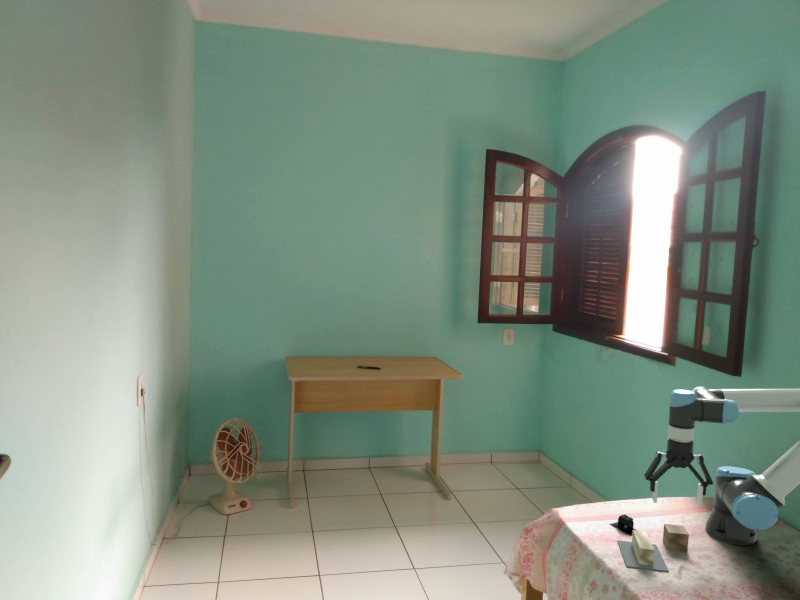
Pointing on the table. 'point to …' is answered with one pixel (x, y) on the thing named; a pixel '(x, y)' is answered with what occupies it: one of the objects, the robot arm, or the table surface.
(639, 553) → the plinth
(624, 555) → the mat
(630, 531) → the black plastic holder
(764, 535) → the table surface
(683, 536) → the walnut cube
